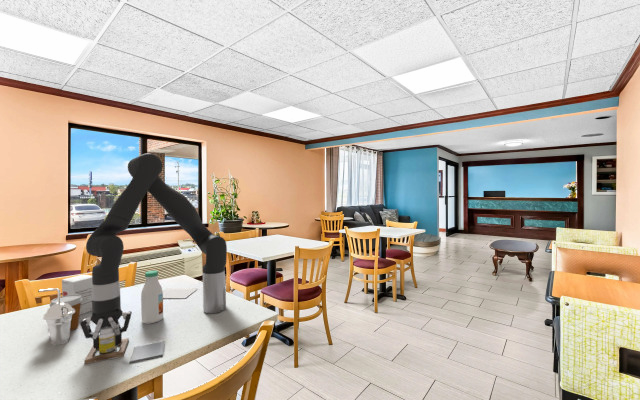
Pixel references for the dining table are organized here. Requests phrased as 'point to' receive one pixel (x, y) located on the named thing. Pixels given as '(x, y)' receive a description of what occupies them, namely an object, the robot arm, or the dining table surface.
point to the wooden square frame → (93, 358)
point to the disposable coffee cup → (75, 303)
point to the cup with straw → (59, 320)
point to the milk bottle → (152, 299)
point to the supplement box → (79, 290)
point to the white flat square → (177, 293)
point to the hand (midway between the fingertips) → (107, 346)
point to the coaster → (147, 352)
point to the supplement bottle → (107, 340)
